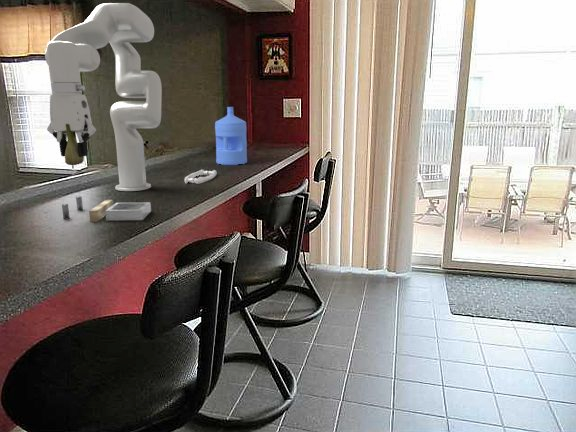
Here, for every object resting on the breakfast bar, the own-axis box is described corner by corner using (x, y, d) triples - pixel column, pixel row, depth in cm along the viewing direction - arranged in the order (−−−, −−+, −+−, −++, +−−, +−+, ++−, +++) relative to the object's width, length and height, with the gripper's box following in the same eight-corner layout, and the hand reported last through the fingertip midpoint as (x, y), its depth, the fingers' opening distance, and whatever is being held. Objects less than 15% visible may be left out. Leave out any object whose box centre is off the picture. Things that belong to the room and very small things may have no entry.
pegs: (78, 209, 142) (77, 196, 141) (83, 209, 142) (82, 196, 141) (62, 218, 131) (60, 205, 130) (68, 218, 131) (66, 205, 130)
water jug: (224, 160, 246) (222, 106, 239) (251, 162, 242) (251, 106, 235) (210, 164, 232) (208, 107, 225) (239, 166, 227) (238, 107, 220)
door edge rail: (106, 209, 142) (105, 199, 141) (113, 209, 142) (112, 199, 141) (90, 221, 128) (88, 211, 128) (97, 221, 128) (96, 211, 128)
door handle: (178, 185, 183) (199, 174, 207) (202, 185, 181) (221, 175, 205) (178, 178, 182) (199, 168, 206) (202, 179, 181) (220, 169, 205)
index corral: (117, 211, 139) (116, 202, 138) (151, 211, 140) (150, 202, 139) (106, 220, 129) (105, 210, 129) (142, 220, 130) (141, 210, 129)
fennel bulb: (75, 162, 136) (70, 121, 133) (89, 163, 135) (85, 121, 132) (60, 165, 131) (55, 122, 128) (75, 166, 129) (70, 122, 126)
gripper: (102, 89, 129) (109, 155, 134) (48, 89, 133) (56, 153, 137) (86, 89, 122) (93, 158, 127) (29, 89, 125) (38, 157, 130)
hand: (74, 155), depth 132 cm, fingers closed on fennel bulb, 4 cm apart
